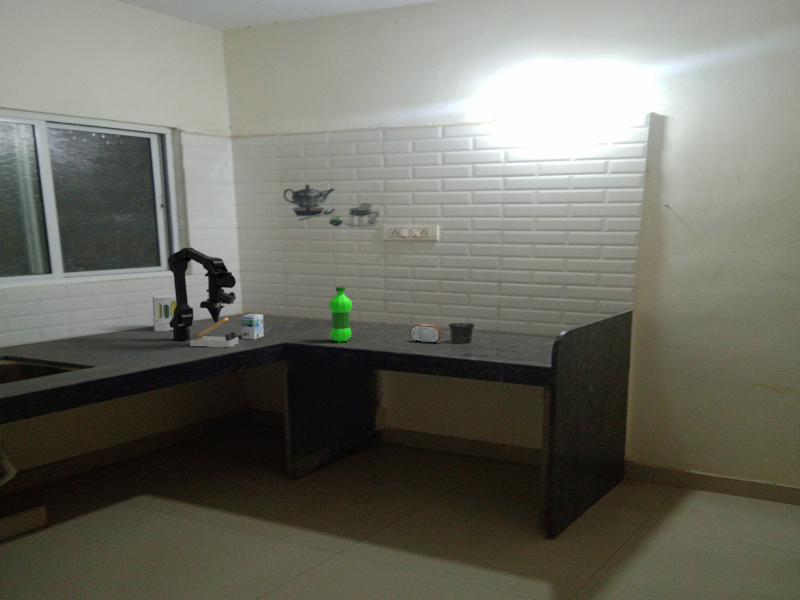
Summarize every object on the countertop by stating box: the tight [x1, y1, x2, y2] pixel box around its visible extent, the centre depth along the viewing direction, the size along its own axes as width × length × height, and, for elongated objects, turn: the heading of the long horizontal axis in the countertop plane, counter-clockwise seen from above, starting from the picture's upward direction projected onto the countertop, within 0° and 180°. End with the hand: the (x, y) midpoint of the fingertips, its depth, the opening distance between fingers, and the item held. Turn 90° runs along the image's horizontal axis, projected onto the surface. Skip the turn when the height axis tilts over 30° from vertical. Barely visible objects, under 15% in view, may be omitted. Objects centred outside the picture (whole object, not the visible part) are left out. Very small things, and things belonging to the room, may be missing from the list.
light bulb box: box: [241, 313, 264, 340], centre depth 301 cm, size 11×7×11 cm, turn 168°
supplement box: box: [152, 293, 181, 332], centre depth 327 cm, size 13×13×18 cm
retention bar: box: [196, 317, 229, 338], centre depth 280 cm, size 16×3×1 cm, turn 84°
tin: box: [409, 323, 443, 343], centre depth 289 cm, size 15×3×8 cm, turn 65°
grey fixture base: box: [189, 331, 239, 348], centre depth 280 cm, size 18×10×6 cm, turn 82°
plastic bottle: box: [328, 286, 353, 343], centre depth 290 cm, size 10×10×25 cm
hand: (216, 322), depth 279 cm, fingers closed
